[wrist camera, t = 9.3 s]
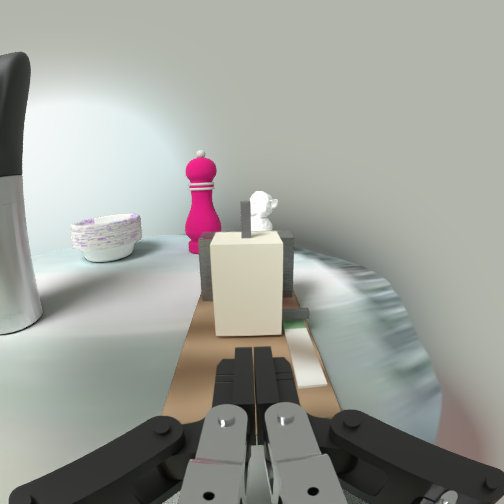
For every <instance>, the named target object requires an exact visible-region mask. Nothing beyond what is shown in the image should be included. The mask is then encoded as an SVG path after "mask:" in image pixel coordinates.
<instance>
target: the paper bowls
mask: <svg viewBox="0 0 504 504" xmlns="http://www.w3.org/2000/svg"><path fill="white" fill-rule="evenodd" d="M70 229H71V237H72V245H73V249H75V250H80V251H81V252H82V254H83V255H84V257H85V258H86V259H87V260H89V261H92V262H107V261H113V260H118V259H121V258H124V257H126V256H128V255H130V254H131V253H132V251H133V248H134V245H135V242H136V241H138V240H140V239H141V238H142V230H141V218H140V215H138V214H120V215H111V216H104V217H98V218H92V219H88V220H84V221H80V222H77V223H74V224H72V225H71V226H70Z"/></svg>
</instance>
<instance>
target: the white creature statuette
mask: <svg viewBox="0 0 504 504" xmlns="http://www.w3.org/2000/svg"><path fill="white" fill-rule="evenodd" d="M250 202H251V231H272V227H273V226H272V224H271V222H270V221H269V219H268V218H266V216H268V215H269V214H271V212H272V210H273V209H274V208H275V207H276V206H277V205H278V199H274V200H273V199H272V197H271V196H270V195H268V194H266V193H265V192H263V191H256V192H255V194H253V195H252V196H251V198H250Z"/></svg>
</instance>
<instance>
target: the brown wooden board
mask: <svg viewBox="0 0 504 504" xmlns="http://www.w3.org/2000/svg"><path fill="white" fill-rule="evenodd" d="M293 308H300V305H299V303H298V300H297V298H296V295H295V293H294V290H293V296H292V298H282V309H293ZM256 346H271V350H272V356H273V357H285V359H286V360H287V361H288V362H289V363H290V364H291V368H292V373H293V376H294V380H295V385H296V389H297V393H298V397H299V401H300V405H301V407H302V408H303V409H304V410H305V412H307V413H308V414H310V415H312V416H315V417H320V418H328V419H332V418H333V416H334V415H335V414H337V413H338V412H340V411H341V410H340V407H339V404H338V402H337V399H336V396H335V394H334V391H333V389H332V386H331V383H330V381H329V378H328V376H327V373H326V370H325V368H324V365H323V363H322V360H321V358H320V355H319V353H318V350H317V347H316V345H315V342H314V340H313V337H312V335H311V332H310V330H309V327H308V325H307V322H306V320H305V318H303V319H283V320H282V330H281V335H254V336H216V330H215V317H214V304H213V301H202V292H201V295H200V298H199V301H198V304H197V307H196V309H195V312H194V315H193V318H192V321H191V324H190V327H189V330H188V333H187V336H186V339H185V342H184V345H183V348H182V352H181V355H180V358H179V361H178V364H177V367H176V370H175V373H174V376H173V380H172V383H171V386H170V389H169V392H168V396H167V399H166V402H165V405H164V409H163V412H162V415H161V416H170V417H173V418H175V419H177V420H178V421H179V422H180V423H181V424H187V423H192V422H196V421H199V420H201V419H203V418H205V417H206V414H207V412H208V411H209V410H210V409H211V408H212V401H213V393H214V384H215V376H216V368H217V365H218V364H219V363H220V361H221V360H222V359H235V347H252V353H253V372H254V347H256ZM254 390H255V386H254ZM255 418H256V404H255ZM256 435H257V422H256Z"/></svg>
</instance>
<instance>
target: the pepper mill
mask: <svg viewBox="0 0 504 504" xmlns="http://www.w3.org/2000/svg"><path fill="white" fill-rule="evenodd" d="M196 156H197V158H196V159H193V160H191V161H190V162H189V163H188V165H187V167H186V176H187V178H188V179H189V180H190V182H191V183H190V184H189V190H191V195H192V205H191V210H190V213H189V215H188V218H187V221H186V226H185V231H186V234H187V236H188V237H189V238H190V239H191V241H190V242H189V251H190V252H191V253H195V254H199V247H198V239H199V238H200V236H201V235H202V233H203V232H221V223H220V220H219V217H218V215H217V214H216V212H215V209H214V206H213V203H212V189H214V185H213V184H214V182H212V180H213V178H214V177H215V175H216V166H215V164H214V162H213V161H211V160H210V159H207V158H204V157H205V152H204V151H203V150H199V151H197V153H196Z"/></svg>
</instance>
